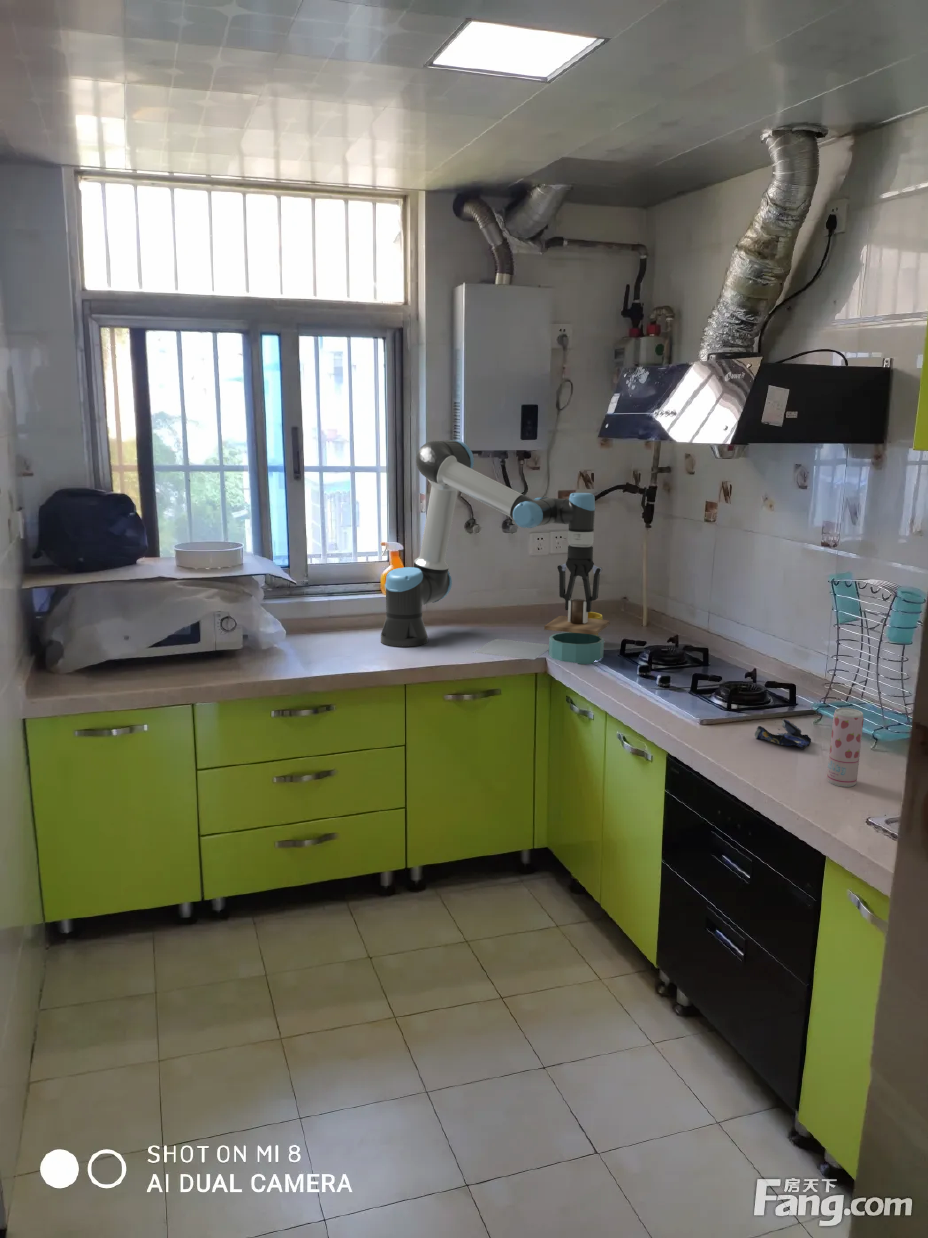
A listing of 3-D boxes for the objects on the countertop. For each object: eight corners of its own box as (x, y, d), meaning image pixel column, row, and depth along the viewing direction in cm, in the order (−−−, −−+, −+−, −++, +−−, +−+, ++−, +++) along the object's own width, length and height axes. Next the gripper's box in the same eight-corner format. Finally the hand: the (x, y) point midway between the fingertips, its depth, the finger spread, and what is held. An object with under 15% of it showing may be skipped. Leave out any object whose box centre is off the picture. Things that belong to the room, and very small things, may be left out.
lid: (544, 629, 280) (545, 602, 278) (559, 619, 294) (560, 593, 292) (596, 634, 274) (597, 607, 272) (609, 624, 288) (610, 598, 287)
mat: (472, 653, 288) (472, 652, 288) (495, 640, 306) (495, 638, 306) (534, 661, 281) (534, 659, 281) (554, 646, 299) (554, 645, 299)
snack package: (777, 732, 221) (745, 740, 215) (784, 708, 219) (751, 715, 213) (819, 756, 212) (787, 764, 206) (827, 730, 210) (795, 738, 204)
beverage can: (820, 780, 191) (828, 710, 188) (837, 774, 195) (844, 705, 191) (845, 789, 187) (853, 718, 184) (862, 783, 190) (870, 713, 187)
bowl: (542, 660, 282) (543, 641, 281) (558, 648, 296) (559, 630, 295) (594, 666, 276) (595, 646, 275) (607, 654, 290) (608, 635, 289)
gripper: (549, 544, 279) (547, 621, 283) (605, 548, 272) (602, 626, 277) (556, 541, 285) (554, 616, 290) (611, 545, 279) (608, 621, 284)
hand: (577, 621), depth 284 cm, fingers closed on lid, 4 cm apart
